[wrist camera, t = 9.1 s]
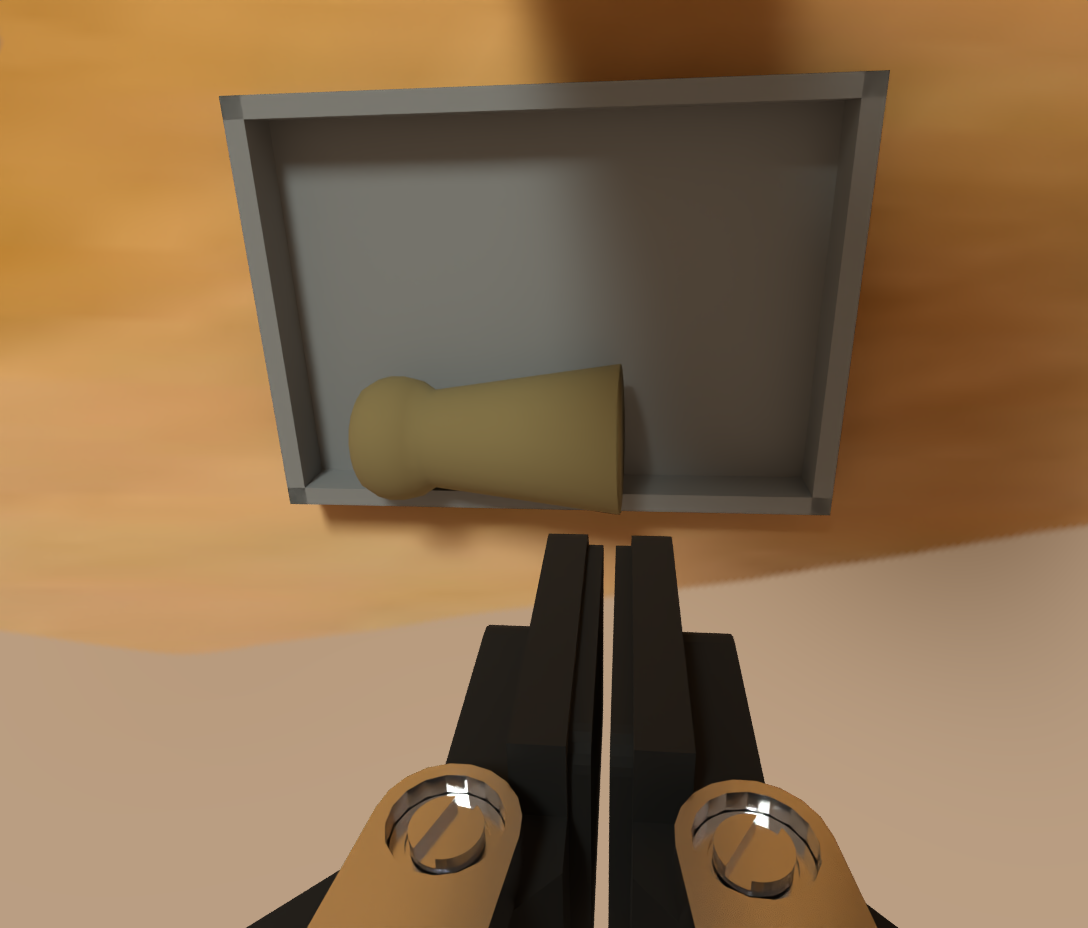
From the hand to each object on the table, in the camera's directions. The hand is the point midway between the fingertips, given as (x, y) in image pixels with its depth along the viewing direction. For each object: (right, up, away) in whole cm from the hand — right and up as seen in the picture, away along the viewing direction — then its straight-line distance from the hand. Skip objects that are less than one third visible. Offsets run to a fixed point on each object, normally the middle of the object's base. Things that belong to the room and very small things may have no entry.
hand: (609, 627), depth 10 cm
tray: (-1, +9, +21) cm, 23 cm away
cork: (+2, +3, +20) cm, 20 cm away
